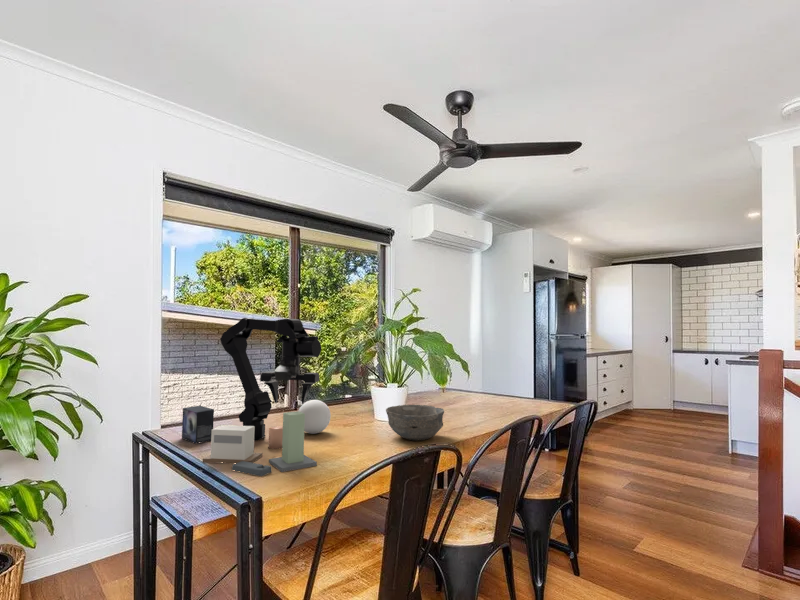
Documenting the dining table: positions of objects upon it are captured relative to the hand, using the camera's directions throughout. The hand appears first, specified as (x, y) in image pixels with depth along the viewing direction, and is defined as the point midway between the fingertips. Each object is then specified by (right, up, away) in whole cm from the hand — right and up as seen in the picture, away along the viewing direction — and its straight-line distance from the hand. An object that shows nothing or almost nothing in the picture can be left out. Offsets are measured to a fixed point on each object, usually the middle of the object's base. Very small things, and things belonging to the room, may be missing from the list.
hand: (289, 403), depth 147 cm
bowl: (+42, -14, +9) cm, 45 cm away
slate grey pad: (+7, -11, -24) cm, 27 cm away
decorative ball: (+5, -14, +14) cm, 20 cm away
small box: (-32, -13, +2) cm, 35 cm away
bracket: (-2, -12, -30) cm, 32 cm away
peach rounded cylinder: (-3, -13, -6) cm, 14 cm away
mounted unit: (-11, -12, -20) cm, 25 cm away
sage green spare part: (+7, -10, -24) cm, 27 cm away
